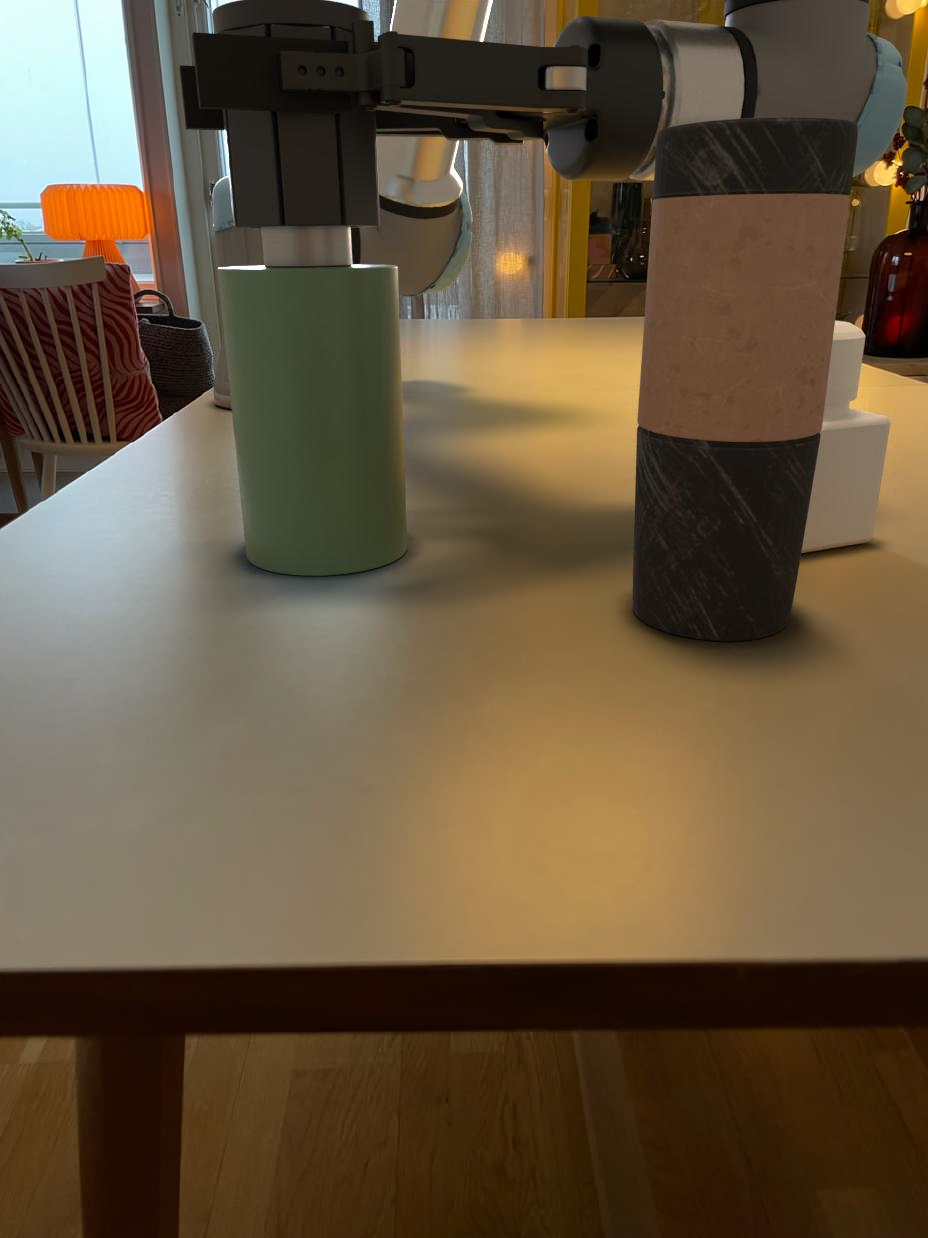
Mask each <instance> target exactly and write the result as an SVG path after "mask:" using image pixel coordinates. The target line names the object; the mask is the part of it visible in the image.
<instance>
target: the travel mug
mask: <svg viewBox="0 0 928 1238" xmlns="http://www.w3.org/2000/svg"><path fill="white" fill-rule="evenodd" d="M857 138H858V126H857V124H856V123H855V122H853V121H849V120H844V119H835V118H819V117H765V118H743V119H728V120H715V121H705V122H696V123H689V124H683V125H677V126H672V127H668V128H665V129H663V130H661V131H660V132H659V134H658V138H657V145H656V159H655V173H654V180H653V189H652V190H653V191H652V198H653V200H652V203H651V218H650V233H649V246H648V247H649V248H648V259H647V260H648V262H647V276H646V277H647V278H646V289H645V306H644V319H643V335H642V346H641V347H642V348H641V360H640V361H641V362H640V363H641V364H640V377H639V390H638V391H639V392H638V405H637V406H638V407H637V420H636V421H637V425H638V426H637V427H636V449H635V451H636V452H635V482H634V483H635V487H634V488H635V489H634V521H633V523H634V525H633V555H632V556H633V557H632V559H633V560H632V608H633V611H634V613H635V615H636V616H637V618H638V619H640V620H641V621H642V622H643V623H645V624H647V625H649V626H651V627H653V628H654V629H657V630H660V631H662V632H665V633H669V634H672V635H675V636H679V637H685V638H690V639H697V640H704V641H715V642H737V641H738V642H739V641H749V640H757V639H762V638H767V637H769V636H772V635H775V634H777V633H779V632H781V631H783V629H785V628H786V627H787V625H788V624H789V621H790V618H791V613H792V609H793V605H794V604H793V603H794V599H795V593H796V588H797V582H798V575H799V570H800V562H801V558H802V557H801V556H802V553H801V552H802V546H803V540H804V534H805V528H806V522H807V516H808V509H809V503H810V497H811V491H812V485H813V479H814V473H815V467H816V461H817V455H818V449H819V443H820V437H821V435H820V431H821V429H822V423H823V415H824V407H825V399H826V391H827V383H828V374H829V366H830V358H831V350H832V342H833V334H834V326H835V320H836V317H837V308H838V301H839V291H840V284H841V277H842V269H843V268H842V267H843V259H844V251H845V242H846V237H847V235H846V234H847V227H848V220H849V219H848V218H849V210H850V202H851V195H850V194H851V193H852V188H853V187H852V185H853V178H854V177H853V171H854V163H855V154H856V146H857Z"/></svg>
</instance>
